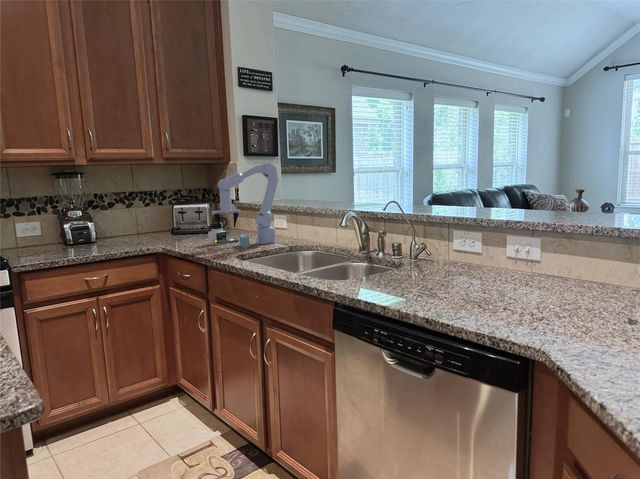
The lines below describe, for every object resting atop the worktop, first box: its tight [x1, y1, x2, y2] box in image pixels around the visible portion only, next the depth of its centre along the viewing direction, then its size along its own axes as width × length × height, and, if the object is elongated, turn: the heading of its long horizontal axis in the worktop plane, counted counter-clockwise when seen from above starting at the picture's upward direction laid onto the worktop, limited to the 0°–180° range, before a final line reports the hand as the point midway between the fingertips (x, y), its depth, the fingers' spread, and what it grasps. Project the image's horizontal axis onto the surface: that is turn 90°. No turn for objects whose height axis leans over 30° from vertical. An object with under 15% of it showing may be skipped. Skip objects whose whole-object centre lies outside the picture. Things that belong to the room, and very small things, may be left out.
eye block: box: [239, 233, 250, 249], centre depth 248 cm, size 4×10×6 cm, turn 15°
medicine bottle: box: [207, 221, 228, 246], centre depth 258 cm, size 7×7×12 cm
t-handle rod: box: [212, 238, 240, 247], centre depth 246 cm, size 14×9×3 cm, turn 105°
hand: (227, 227), depth 247 cm, fingers open, 7 cm apart
